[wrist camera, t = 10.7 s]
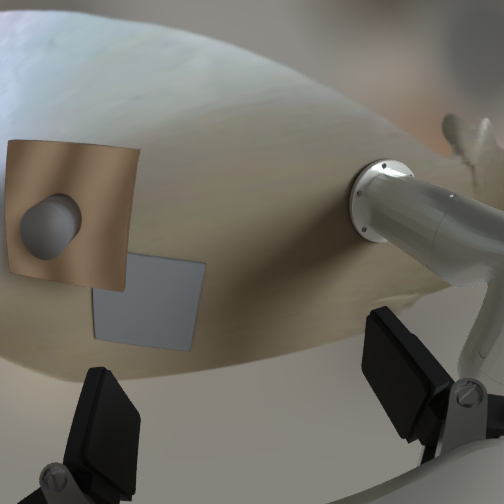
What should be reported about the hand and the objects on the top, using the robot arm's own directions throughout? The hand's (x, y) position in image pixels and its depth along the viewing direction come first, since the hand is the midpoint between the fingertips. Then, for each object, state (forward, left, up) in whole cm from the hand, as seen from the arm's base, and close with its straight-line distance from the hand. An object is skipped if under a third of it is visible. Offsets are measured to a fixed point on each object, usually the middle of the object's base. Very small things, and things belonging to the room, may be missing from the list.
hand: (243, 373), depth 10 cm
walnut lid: (+13, +2, -18) cm, 23 cm away
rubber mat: (+5, +17, -28) cm, 33 cm away
